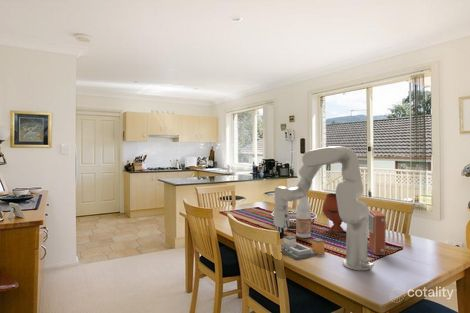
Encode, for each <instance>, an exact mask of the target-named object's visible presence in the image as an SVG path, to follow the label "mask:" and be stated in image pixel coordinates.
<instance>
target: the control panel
mask: <svg viewBox="0 0 470 313" xmlns="http://www.w3.org/2000/svg"><path fill="white" fill-rule="evenodd" d="M386 230H387V220H386V215H385V214H384V213H383V212H381V211H380V210H376V209H375V210H371V209H369V220H368V233H369V234H368V235H369V237H368V239H369V240H368V247H369V249H370V250H371V252H372V253H373V255H379V256H381V255H382V256H385V255H386Z"/></svg>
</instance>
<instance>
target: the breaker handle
mask: <svg viewBox="0 0 470 313" xmlns="http://www.w3.org/2000/svg"><path fill="white" fill-rule="evenodd" d="M283 242H284V244H286V245H288V246H290V247H296V243H297V236H294V235H291V234H290V235H284V238H283Z"/></svg>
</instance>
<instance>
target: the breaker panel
mask: <svg viewBox="0 0 470 313" xmlns="http://www.w3.org/2000/svg"><path fill="white" fill-rule="evenodd" d="M280 244H281V250H282V252H281V253H283V254H285V255H287V256H289V257H290V258H293V259H295V260H301V259H306V258H310V257H314V256H317V254H316V252H313V251H312V248H310V247H308V246H305V245H303V244H300V243H299V242H296V247H290V246H288V245H286V244H284V241H283V242H281V241H280Z"/></svg>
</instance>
